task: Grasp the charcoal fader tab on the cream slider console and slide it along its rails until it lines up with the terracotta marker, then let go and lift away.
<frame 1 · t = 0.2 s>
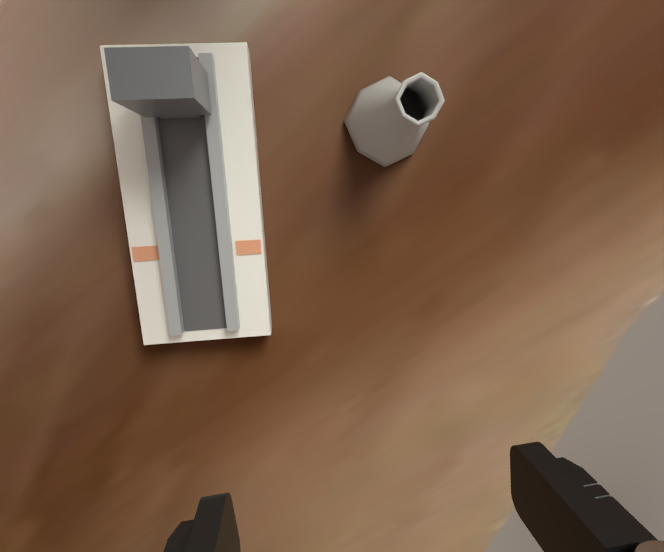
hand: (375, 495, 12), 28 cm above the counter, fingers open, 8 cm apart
fader tab: (166, 87, 29), point 6 cm above the counter, slide at 0.0 cm
flask: (385, 123, 38), on the counter
fader console: (198, 201, 37), on the counter
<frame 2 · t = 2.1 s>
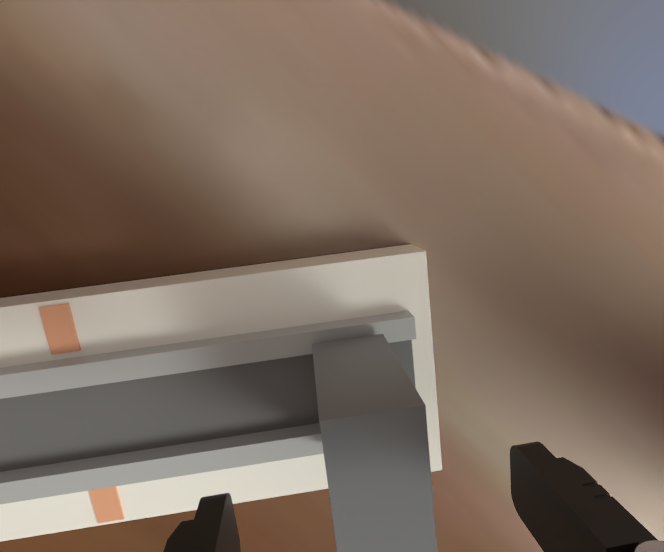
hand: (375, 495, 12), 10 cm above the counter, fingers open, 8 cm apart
fader tab: (362, 425, 16), point 6 cm above the counter, slide at 0.0 cm
fader console: (189, 380, 21), on the counter
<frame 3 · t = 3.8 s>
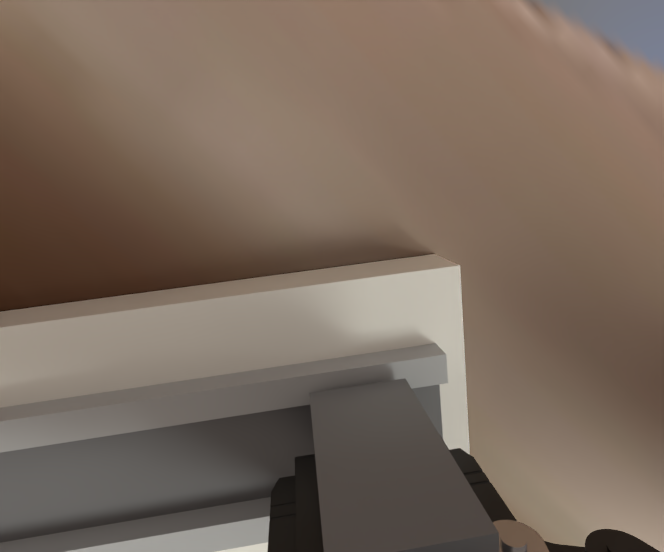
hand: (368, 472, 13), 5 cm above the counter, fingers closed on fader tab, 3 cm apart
fader tab: (382, 516, 11), point 6 cm above the counter, slide at 0.0 cm, touching gripper
fader console: (150, 428, 17), on the counter
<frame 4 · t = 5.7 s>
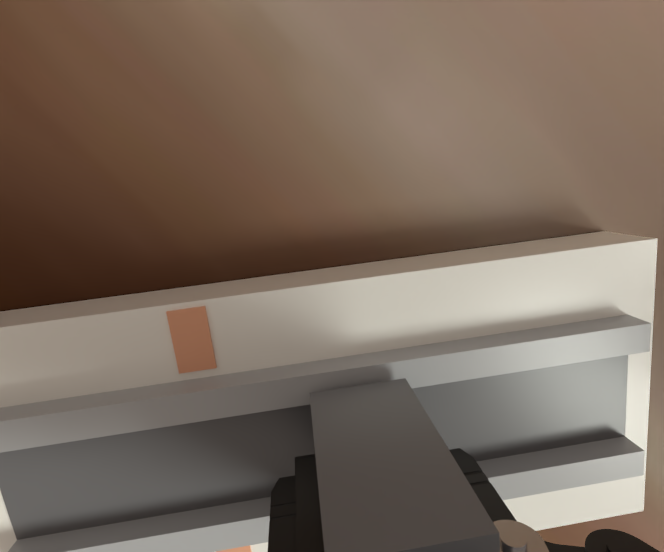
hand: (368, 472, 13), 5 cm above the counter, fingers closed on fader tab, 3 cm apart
fader tab: (382, 516, 11), point 6 cm above the counter, slide at 7.0 cm, touching gripper
fader console: (324, 401, 17), on the counter
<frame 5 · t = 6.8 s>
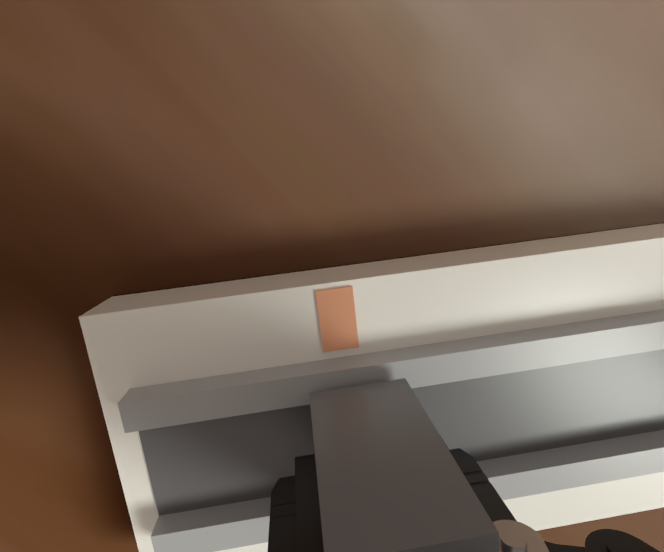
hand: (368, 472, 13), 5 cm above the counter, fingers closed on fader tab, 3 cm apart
fader tab: (382, 516, 11), point 6 cm above the counter, slide at 11.7 cm, touching gripper
fader console: (437, 383, 18), on the counter
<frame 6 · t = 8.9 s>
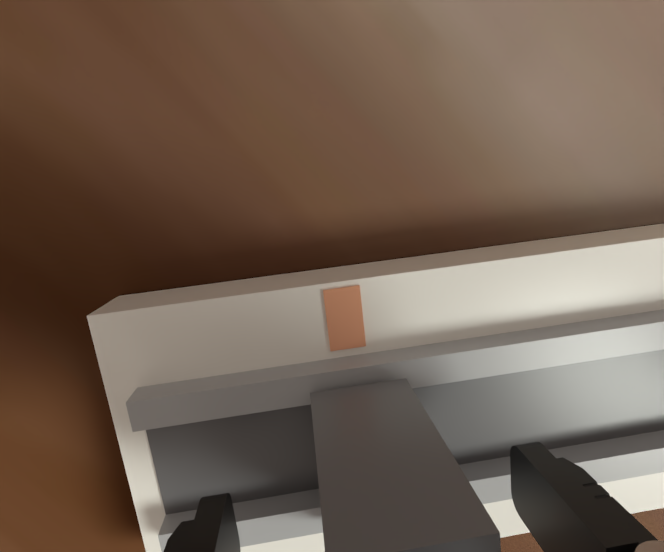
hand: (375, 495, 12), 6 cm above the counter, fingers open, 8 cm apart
fader tab: (382, 516, 11), point 6 cm above the counter, slide at 11.9 cm
fader console: (442, 383, 18), on the counter
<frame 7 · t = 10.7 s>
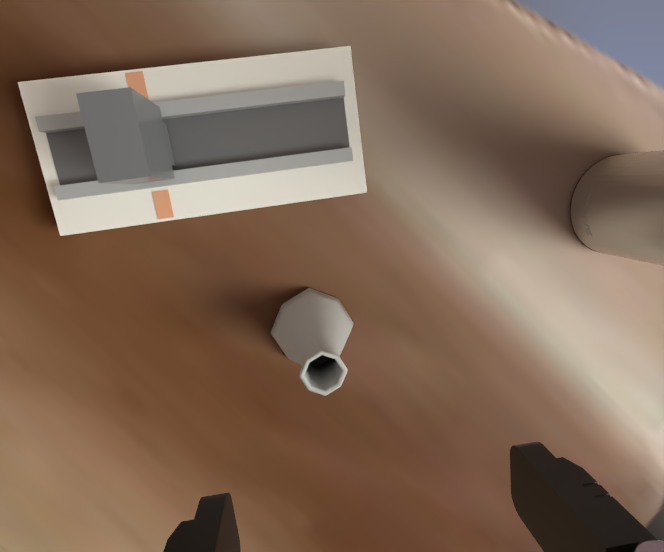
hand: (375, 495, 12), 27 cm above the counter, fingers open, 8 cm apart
fader tab: (134, 142, 28), point 6 cm above the counter, slide at 11.9 cm
flask: (312, 326, 39), on the counter
fader console: (210, 144, 34), on the counter
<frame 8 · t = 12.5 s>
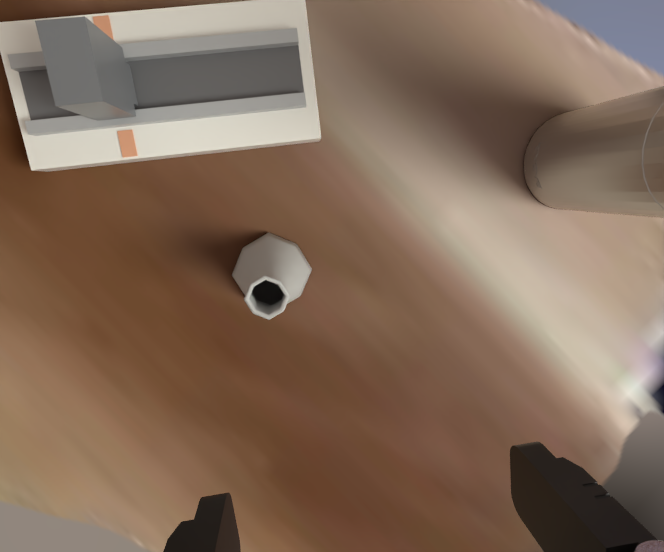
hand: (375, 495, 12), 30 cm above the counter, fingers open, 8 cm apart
fader tab: (95, 76, 30), point 6 cm above the counter, slide at 11.9 cm
flask: (272, 271, 41), on the counter
fader console: (174, 90, 37), on the counter
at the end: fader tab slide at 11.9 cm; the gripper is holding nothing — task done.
